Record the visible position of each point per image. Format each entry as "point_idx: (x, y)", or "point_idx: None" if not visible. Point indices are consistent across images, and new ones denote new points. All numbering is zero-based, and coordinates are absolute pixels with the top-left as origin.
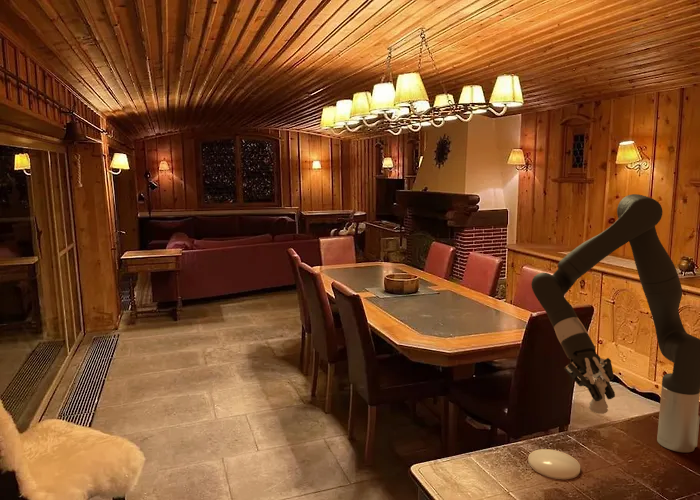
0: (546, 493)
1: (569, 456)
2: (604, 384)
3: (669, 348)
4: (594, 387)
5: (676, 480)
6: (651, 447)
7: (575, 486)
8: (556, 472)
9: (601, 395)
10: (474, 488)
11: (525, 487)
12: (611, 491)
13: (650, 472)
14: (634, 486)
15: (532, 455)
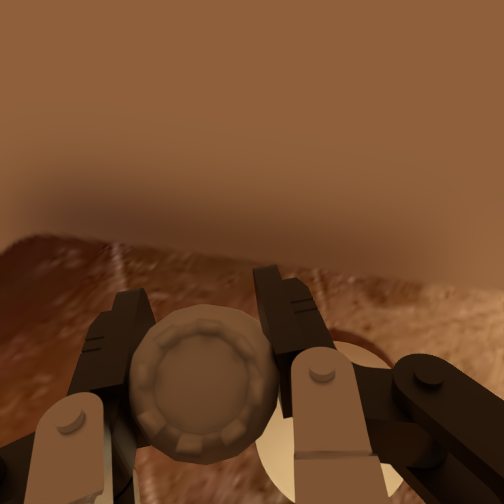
0: (415, 286)
1: (265, 451)
2: (184, 323)
3: None
4: (299, 334)
5: (14, 293)
6: None
7: (321, 305)
8: (355, 362)
9: (257, 275)
10: None
11: (464, 319)
12: (235, 271)
13: (54, 342)
14: (156, 283)
15: (391, 476)
